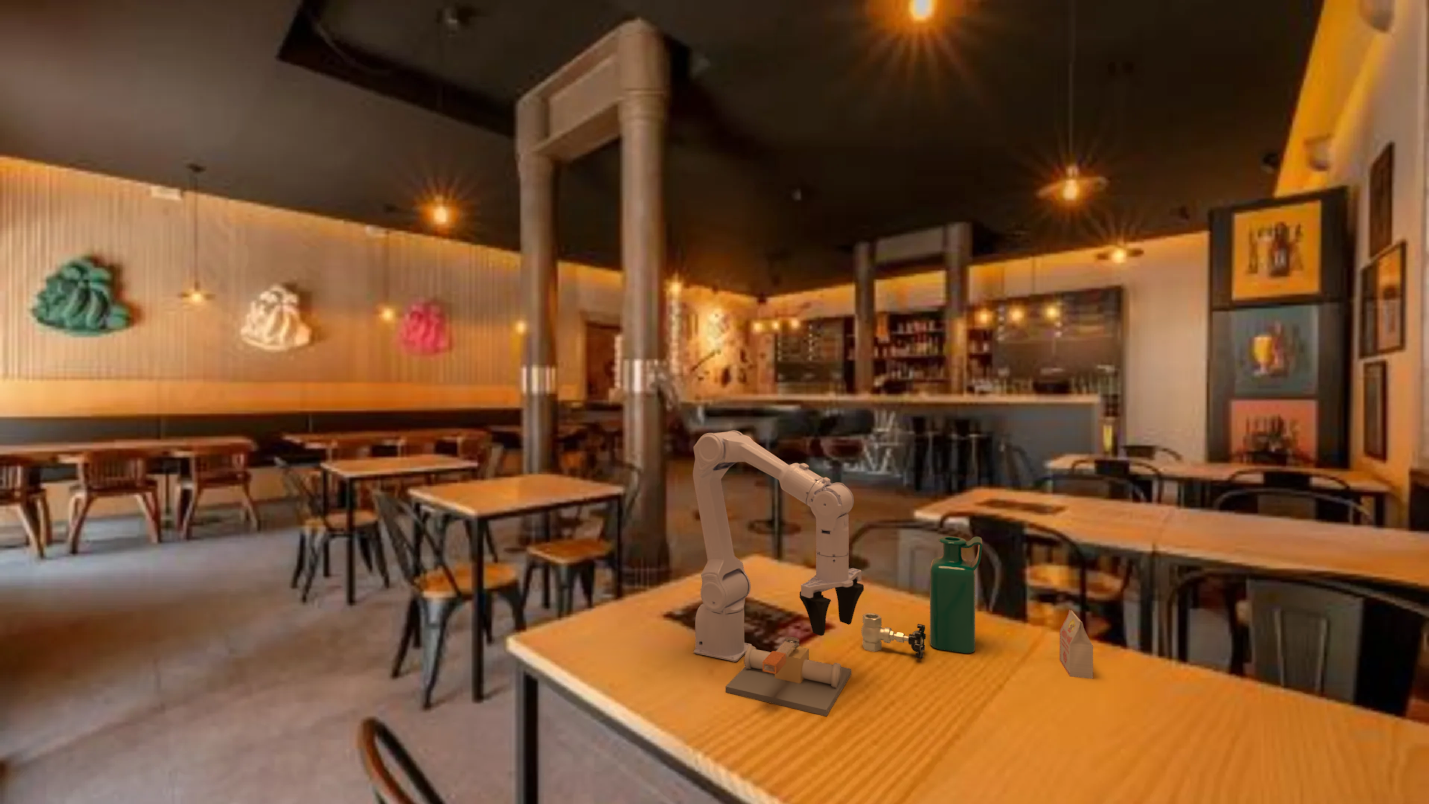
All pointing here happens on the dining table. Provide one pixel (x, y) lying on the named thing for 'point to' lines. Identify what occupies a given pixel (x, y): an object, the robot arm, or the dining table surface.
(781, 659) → the valve lever
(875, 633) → the valve
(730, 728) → the dining table surface
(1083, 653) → the milk carton
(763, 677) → the pipe board
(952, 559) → the pitcher
